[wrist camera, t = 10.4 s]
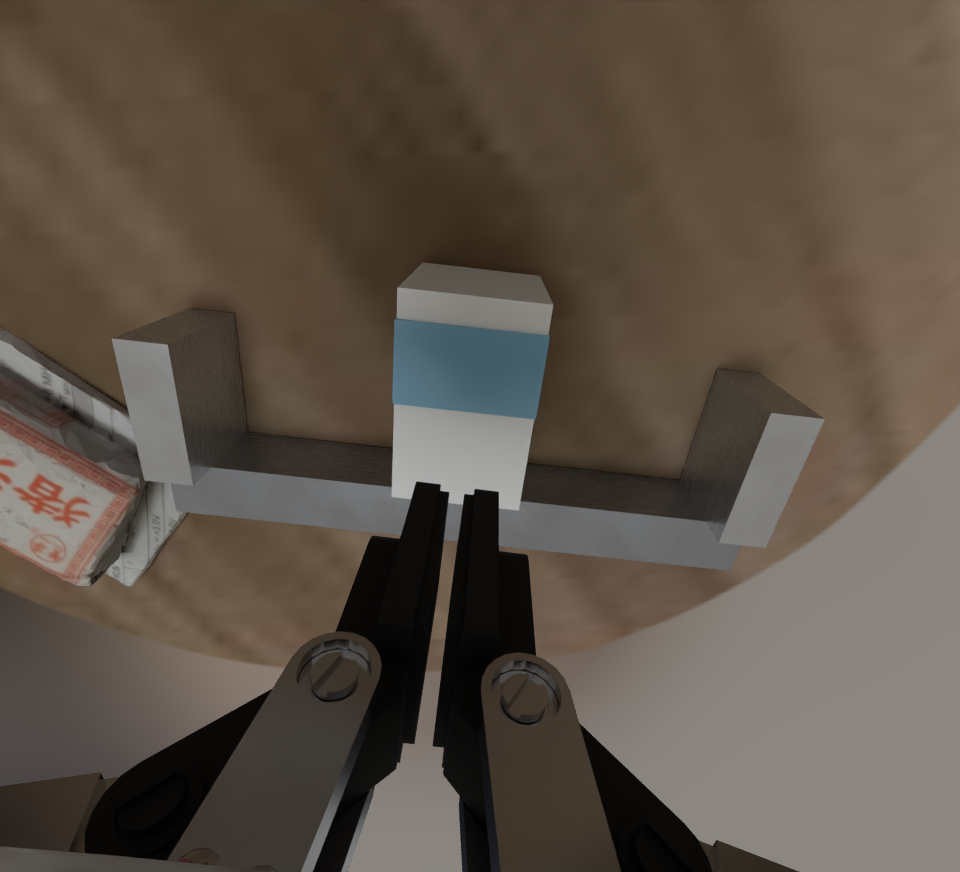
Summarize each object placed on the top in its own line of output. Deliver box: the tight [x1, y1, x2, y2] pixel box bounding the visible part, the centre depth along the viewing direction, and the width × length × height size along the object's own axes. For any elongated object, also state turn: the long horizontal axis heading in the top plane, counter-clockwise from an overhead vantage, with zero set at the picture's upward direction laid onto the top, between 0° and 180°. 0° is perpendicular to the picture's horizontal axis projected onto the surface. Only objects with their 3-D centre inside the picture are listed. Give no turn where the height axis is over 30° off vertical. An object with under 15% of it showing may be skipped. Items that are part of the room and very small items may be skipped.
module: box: [392, 263, 553, 510], centre depth 20 cm, size 8×5×6 cm, turn 174°
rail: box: [112, 308, 825, 571], centre depth 22 cm, size 9×26×5 cm, turn 84°
